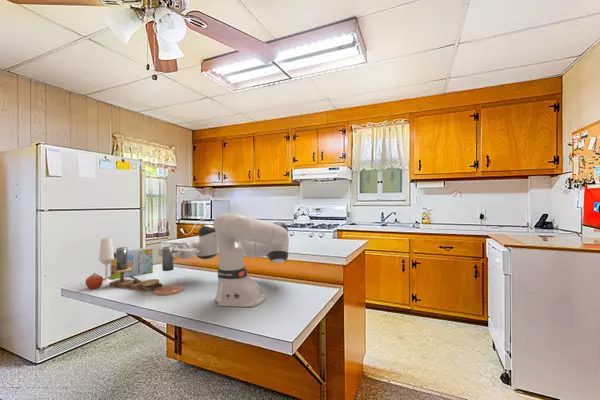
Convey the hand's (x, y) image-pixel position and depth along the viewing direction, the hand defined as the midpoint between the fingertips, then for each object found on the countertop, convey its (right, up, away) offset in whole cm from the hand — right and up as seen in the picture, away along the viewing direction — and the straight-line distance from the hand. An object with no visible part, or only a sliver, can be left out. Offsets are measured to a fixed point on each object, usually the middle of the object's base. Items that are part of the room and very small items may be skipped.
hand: (166, 255), depth 139 cm
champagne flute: (-39, -18, +15) cm, 46 cm away
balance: (-20, -18, +8) cm, 27 cm away
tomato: (-39, -18, +5) cm, 43 cm away
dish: (0, -18, +1) cm, 18 cm away
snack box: (-35, -18, +30) cm, 49 cm away
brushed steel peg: (0, -7, +1) cm, 7 cm away
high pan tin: (-28, -9, +10) cm, 31 cm away
